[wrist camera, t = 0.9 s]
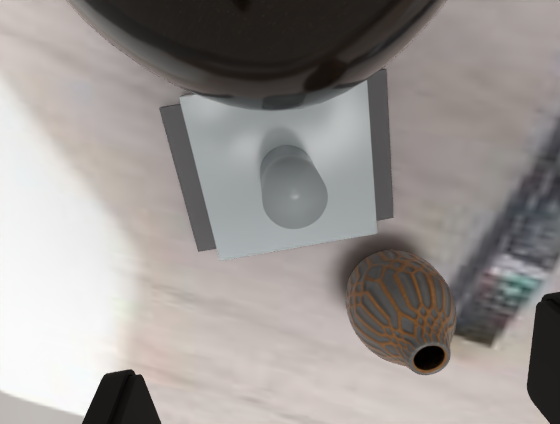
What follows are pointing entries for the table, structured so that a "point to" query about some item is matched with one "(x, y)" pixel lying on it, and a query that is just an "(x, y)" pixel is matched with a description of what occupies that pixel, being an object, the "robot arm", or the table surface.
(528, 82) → the table surface
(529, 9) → the table surface
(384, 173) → the mat
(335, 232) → the lid
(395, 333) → the vase
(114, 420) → the robot arm
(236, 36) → the dark brown round pot
